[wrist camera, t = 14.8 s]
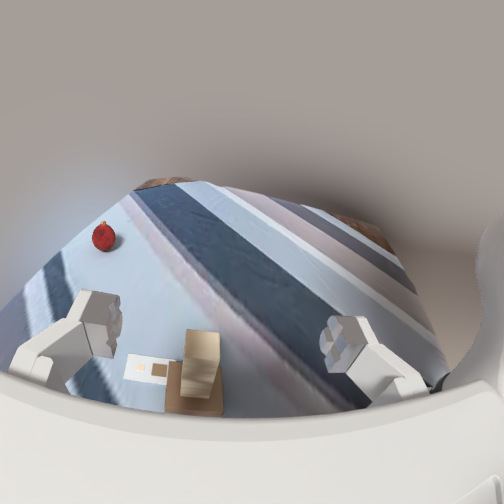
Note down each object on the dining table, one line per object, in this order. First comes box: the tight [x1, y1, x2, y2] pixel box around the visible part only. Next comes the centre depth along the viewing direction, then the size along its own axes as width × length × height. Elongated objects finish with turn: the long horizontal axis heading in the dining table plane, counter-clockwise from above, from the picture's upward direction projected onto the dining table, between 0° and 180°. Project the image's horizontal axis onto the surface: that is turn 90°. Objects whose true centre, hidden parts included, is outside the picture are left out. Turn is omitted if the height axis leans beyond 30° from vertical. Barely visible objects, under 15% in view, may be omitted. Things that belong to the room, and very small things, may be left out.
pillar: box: [180, 329, 220, 399], centre depth 35 cm, size 4×4×10 cm
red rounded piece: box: [92, 221, 115, 251], centre depth 61 cm, size 6×6×8 cm
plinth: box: [165, 361, 224, 417], centre depth 38 cm, size 8×8×3 cm
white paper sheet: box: [124, 353, 176, 385], centre depth 41 cm, size 8×5×1 cm, turn 96°
